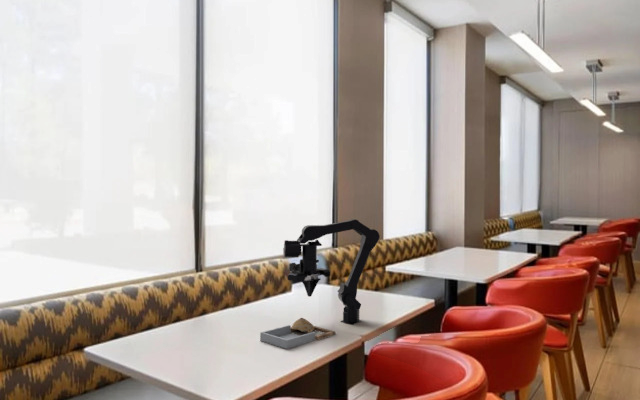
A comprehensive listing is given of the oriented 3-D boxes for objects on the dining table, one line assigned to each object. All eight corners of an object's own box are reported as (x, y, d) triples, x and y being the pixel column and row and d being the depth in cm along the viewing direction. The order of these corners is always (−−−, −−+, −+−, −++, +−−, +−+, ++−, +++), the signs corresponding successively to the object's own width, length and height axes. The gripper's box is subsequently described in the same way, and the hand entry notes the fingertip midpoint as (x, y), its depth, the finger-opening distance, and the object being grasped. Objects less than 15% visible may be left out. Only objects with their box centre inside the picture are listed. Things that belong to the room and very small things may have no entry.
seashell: (304, 332, 180) (292, 316, 185) (298, 342, 183) (287, 327, 187) (320, 327, 186) (308, 312, 190) (315, 337, 188) (303, 322, 193)
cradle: (304, 327, 194) (304, 323, 194) (335, 335, 182) (335, 331, 182) (286, 332, 187) (286, 328, 187) (317, 341, 176) (317, 336, 176)
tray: (289, 332, 186) (289, 325, 186) (315, 340, 176) (315, 332, 176) (260, 340, 176) (260, 332, 176) (286, 349, 166) (286, 340, 166)
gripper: (311, 253, 208) (311, 290, 208) (278, 257, 194) (278, 296, 194) (331, 255, 200) (331, 294, 200) (297, 260, 186) (297, 301, 187)
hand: (309, 296), depth 195 cm, fingers closed
